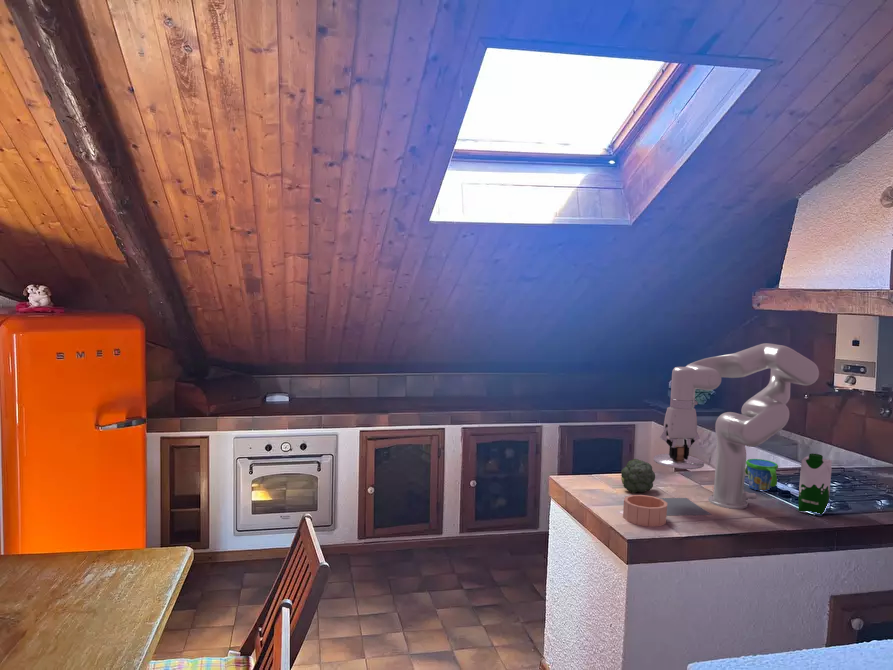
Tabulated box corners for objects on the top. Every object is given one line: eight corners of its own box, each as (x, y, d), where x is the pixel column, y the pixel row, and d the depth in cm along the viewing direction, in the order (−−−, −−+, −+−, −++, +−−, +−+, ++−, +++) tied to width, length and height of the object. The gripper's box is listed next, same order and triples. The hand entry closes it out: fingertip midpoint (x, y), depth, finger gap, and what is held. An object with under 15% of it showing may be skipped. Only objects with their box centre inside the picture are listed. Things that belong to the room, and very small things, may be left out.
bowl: (654, 512, 229) (655, 494, 229) (673, 526, 216) (674, 508, 216) (616, 513, 227) (617, 495, 227) (633, 527, 214) (634, 508, 214)
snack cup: (785, 496, 253) (787, 468, 252) (757, 495, 252) (759, 468, 251) (762, 483, 268) (764, 457, 267) (736, 482, 267) (738, 456, 266)
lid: (688, 455, 243) (689, 440, 243) (713, 468, 227) (714, 452, 227) (645, 456, 240) (646, 441, 240) (667, 469, 225) (668, 453, 224)
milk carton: (794, 512, 235) (799, 453, 233) (801, 505, 242) (806, 449, 240) (823, 518, 230) (829, 458, 228) (830, 512, 236) (835, 454, 235)
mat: (686, 498, 245) (686, 497, 245) (711, 515, 228) (711, 514, 228) (640, 499, 242) (640, 498, 242) (662, 516, 225) (663, 515, 225)
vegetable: (646, 477, 262) (667, 470, 248) (630, 505, 256) (651, 499, 243) (620, 457, 262) (640, 449, 249) (604, 484, 257) (624, 477, 243)
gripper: (699, 402, 237) (696, 455, 239) (653, 402, 234) (650, 455, 236) (711, 406, 230) (707, 461, 231) (664, 406, 227) (660, 461, 229)
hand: (678, 458), depth 234 cm, fingers closed on lid, 3 cm apart
